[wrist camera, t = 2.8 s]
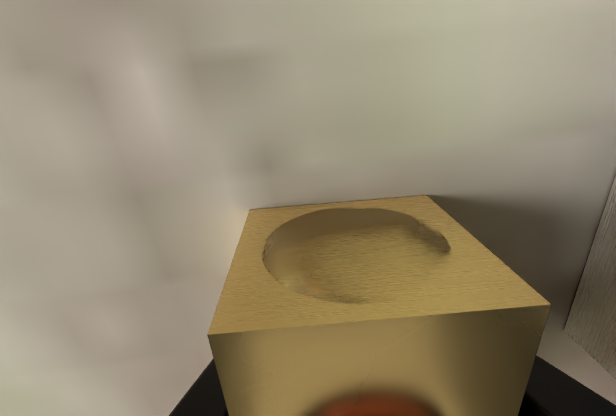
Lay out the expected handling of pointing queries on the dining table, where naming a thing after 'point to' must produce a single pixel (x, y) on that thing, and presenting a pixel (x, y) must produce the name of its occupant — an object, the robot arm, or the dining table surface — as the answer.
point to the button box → (372, 315)
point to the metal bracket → (598, 294)
